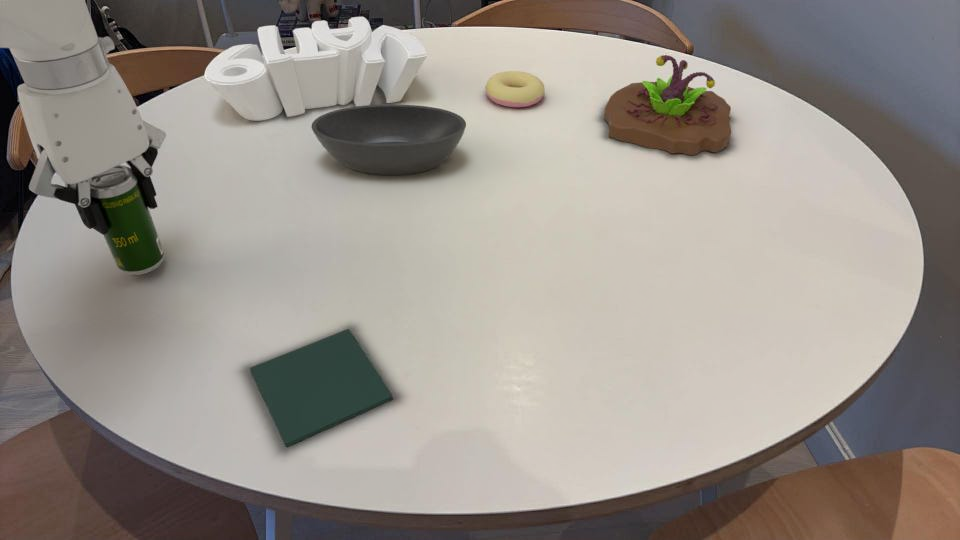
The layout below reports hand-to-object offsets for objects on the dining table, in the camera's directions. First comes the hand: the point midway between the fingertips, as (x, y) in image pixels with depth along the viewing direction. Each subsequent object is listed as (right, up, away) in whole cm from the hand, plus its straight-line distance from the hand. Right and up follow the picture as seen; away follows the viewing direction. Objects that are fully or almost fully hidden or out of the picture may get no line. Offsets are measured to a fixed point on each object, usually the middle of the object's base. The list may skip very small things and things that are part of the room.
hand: (123, 215), depth 79 cm
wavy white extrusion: (+14, +23, +40) cm, 48 cm away
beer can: (0, -5, +5) cm, 7 cm away
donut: (+47, +23, +40) cm, 66 cm away
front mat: (+24, -18, -9) cm, 31 cm away
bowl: (+28, +10, +24) cm, 38 cm away
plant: (+71, +17, +34) cm, 80 cm away
